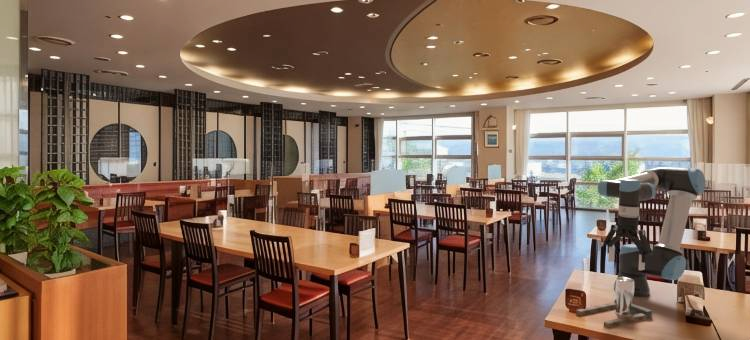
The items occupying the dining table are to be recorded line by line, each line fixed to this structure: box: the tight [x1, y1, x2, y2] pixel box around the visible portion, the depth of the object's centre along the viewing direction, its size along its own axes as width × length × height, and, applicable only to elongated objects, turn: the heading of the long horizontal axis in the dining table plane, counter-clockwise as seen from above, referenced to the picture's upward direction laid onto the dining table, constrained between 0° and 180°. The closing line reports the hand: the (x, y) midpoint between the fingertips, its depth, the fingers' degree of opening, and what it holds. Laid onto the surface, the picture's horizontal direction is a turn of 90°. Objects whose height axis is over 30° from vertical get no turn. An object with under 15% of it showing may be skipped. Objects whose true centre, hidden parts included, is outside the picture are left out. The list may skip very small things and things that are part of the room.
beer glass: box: [614, 276, 635, 317], centre depth 185 cm, size 7×7×15 cm
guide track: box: [575, 299, 653, 329], centre depth 183 cm, size 26×15×3 cm, turn 114°
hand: (625, 265), depth 185 cm, fingers open, 13 cm apart
